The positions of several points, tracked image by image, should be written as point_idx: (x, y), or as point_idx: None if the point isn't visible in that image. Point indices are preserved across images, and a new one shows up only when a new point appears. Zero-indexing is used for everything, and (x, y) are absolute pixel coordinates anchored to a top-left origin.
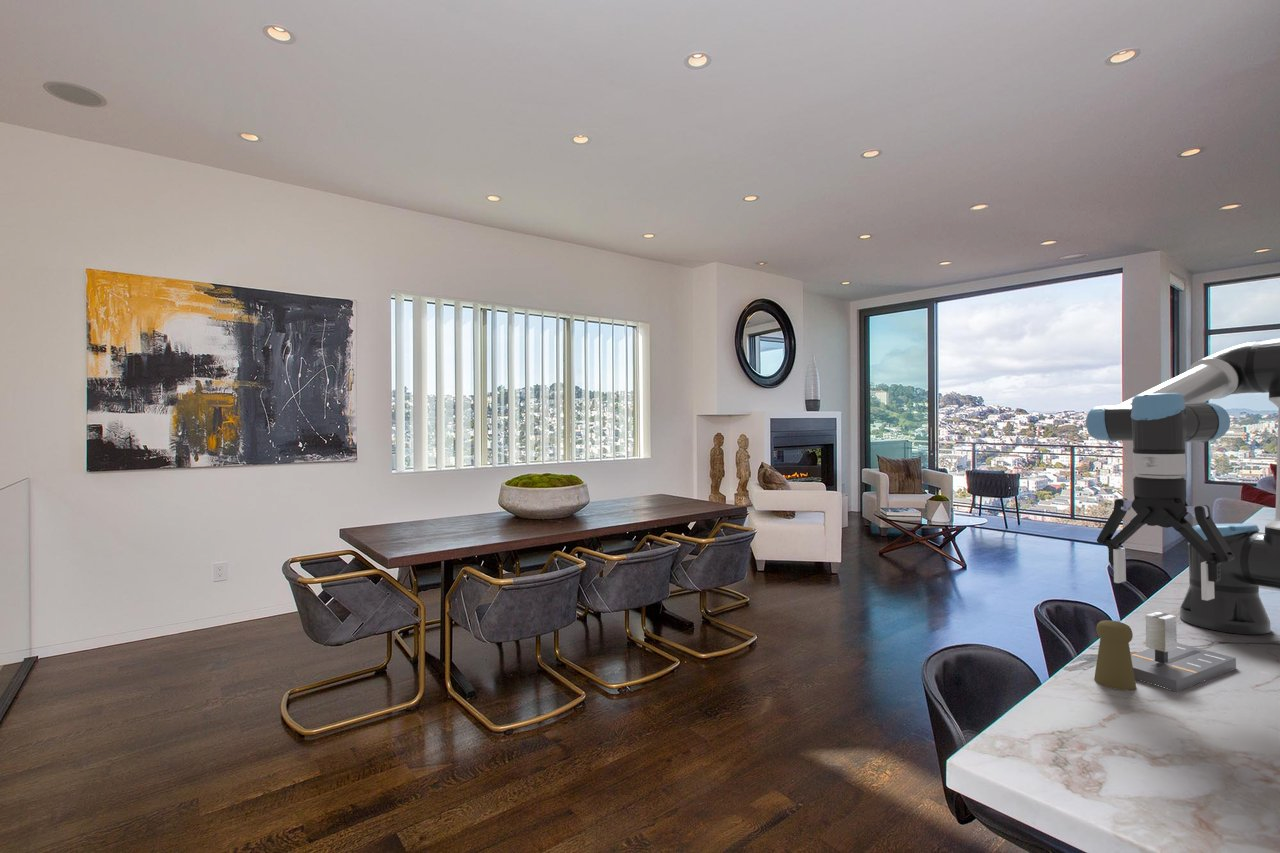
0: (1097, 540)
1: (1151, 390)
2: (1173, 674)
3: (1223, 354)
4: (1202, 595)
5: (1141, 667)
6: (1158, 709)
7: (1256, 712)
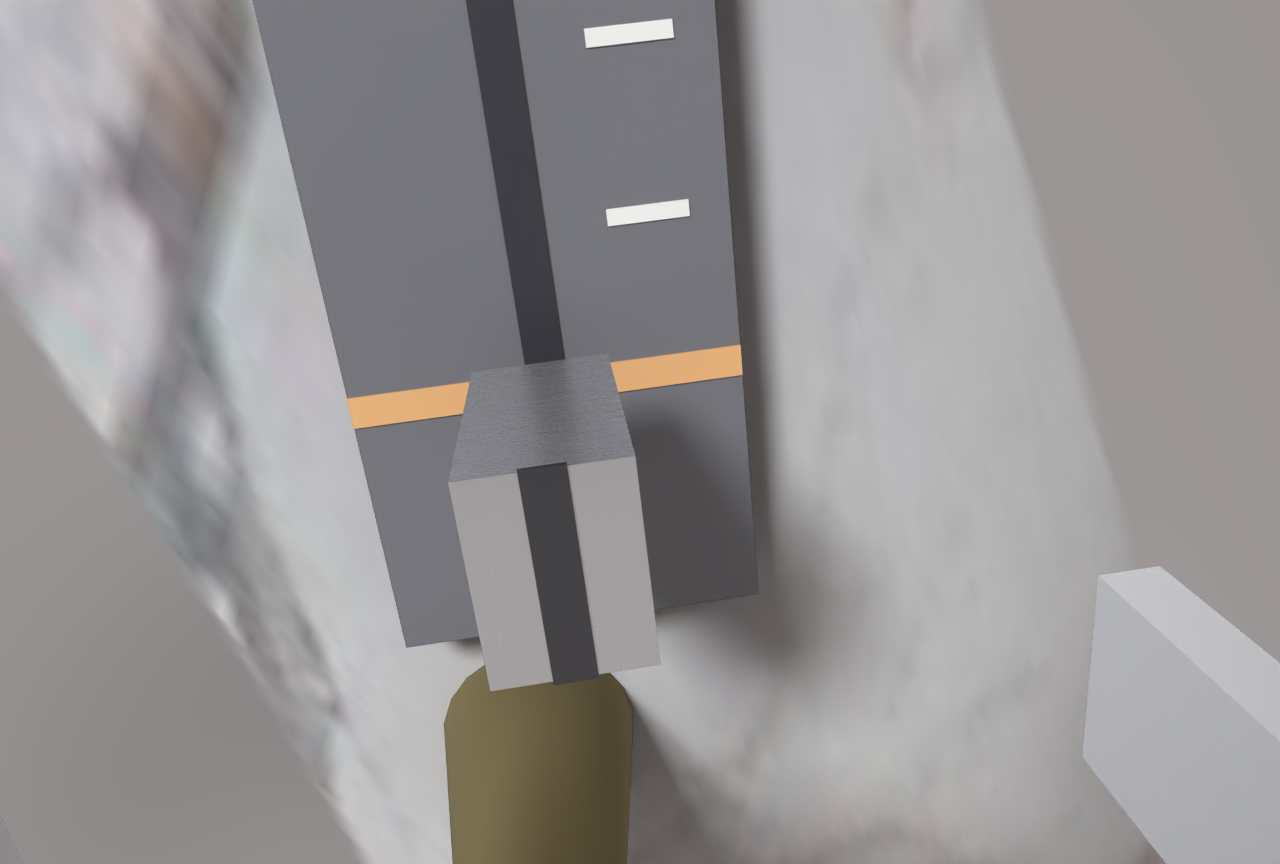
0: None
1: None
2: (696, 517)
3: None
4: (1124, 794)
5: None
6: (817, 810)
7: (1051, 448)
